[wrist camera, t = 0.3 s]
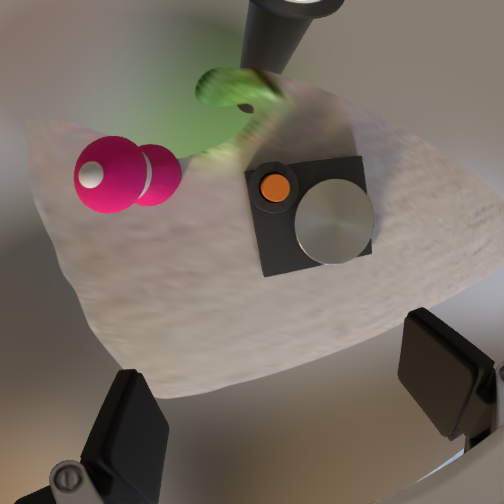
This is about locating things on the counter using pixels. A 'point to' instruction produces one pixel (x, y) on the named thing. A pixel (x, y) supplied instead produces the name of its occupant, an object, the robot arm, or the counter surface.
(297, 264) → the scale
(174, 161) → the pepper mill
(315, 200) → the weighing plate
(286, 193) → the button
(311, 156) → the counter surface
